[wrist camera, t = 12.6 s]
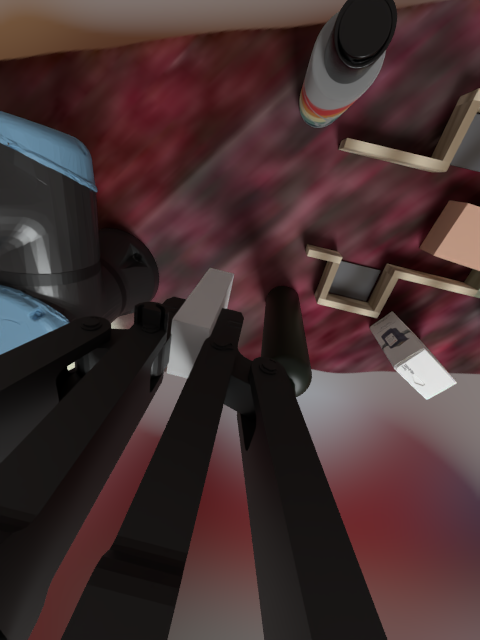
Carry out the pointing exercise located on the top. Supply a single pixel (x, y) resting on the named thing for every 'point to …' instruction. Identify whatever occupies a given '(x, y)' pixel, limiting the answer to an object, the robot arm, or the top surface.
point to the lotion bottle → (346, 59)
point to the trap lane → (357, 281)
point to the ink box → (411, 357)
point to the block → (456, 235)
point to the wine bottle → (287, 337)
